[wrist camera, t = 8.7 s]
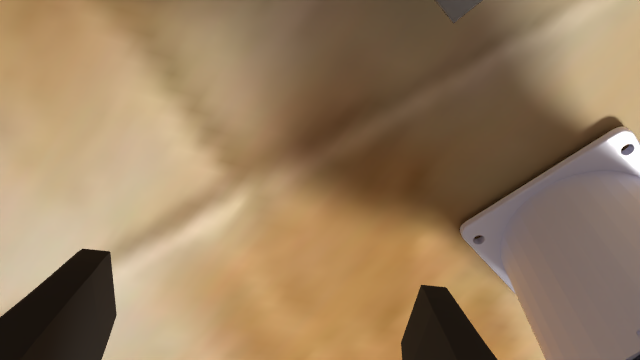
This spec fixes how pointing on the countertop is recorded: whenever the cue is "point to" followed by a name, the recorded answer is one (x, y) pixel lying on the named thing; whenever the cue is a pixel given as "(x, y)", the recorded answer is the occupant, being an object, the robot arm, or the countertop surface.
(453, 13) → the camera body
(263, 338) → the countertop surface
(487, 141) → the countertop surface
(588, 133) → the countertop surface
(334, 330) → the countertop surface
